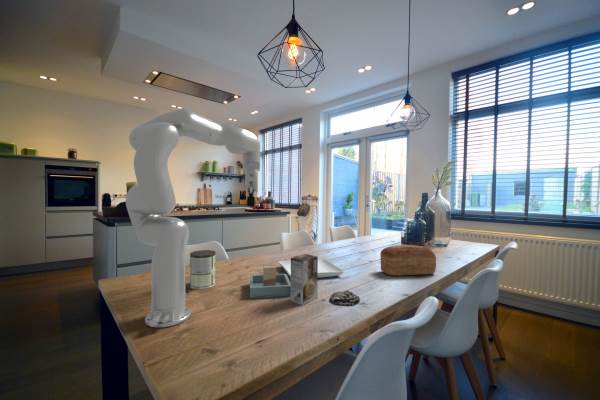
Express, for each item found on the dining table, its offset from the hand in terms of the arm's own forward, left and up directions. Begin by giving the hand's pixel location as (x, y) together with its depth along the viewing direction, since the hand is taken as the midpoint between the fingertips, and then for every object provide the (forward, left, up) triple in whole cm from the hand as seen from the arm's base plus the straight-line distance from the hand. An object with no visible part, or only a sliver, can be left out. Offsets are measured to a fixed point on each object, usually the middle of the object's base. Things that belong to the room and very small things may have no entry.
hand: (250, 205), depth 115 cm
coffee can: (0, +20, -34) cm, 40 cm away
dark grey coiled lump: (-25, -35, -35) cm, 55 cm away
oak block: (-10, -8, -33) cm, 36 cm away
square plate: (+13, -30, -35) cm, 48 cm away
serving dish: (-10, -8, -34) cm, 37 cm away
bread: (+4, -80, -35) cm, 87 cm away
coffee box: (-22, -20, -34) cm, 46 cm away
